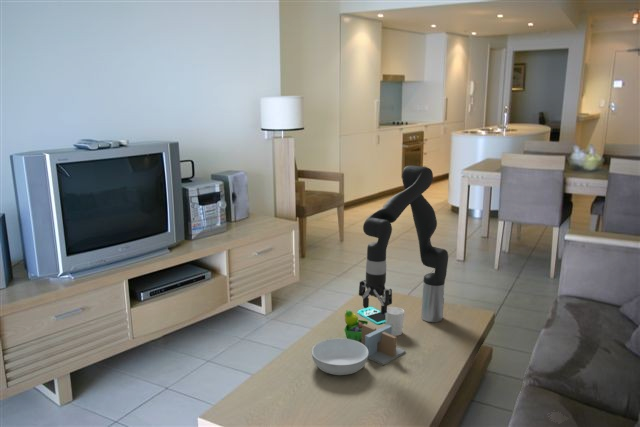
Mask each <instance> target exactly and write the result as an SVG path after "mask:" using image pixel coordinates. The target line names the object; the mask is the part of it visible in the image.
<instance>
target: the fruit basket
mask: <svg viewBox="0 0 640 427" xmlns="http://www.w3.org/2000/svg"><path fill="white" fill-rule="evenodd" d="M344 321H345V327H344V328H343V331H344V333H345V337H346V339H351V340H355V341H358V342H360V343H361V339H362V325H363V324H367V325H369V324H368V323H369V322H368V321H367V320H362V319H359V317H358V315H357V314H356V313H354V312H353V311H351V310H350V309H349V310H346V311H345V313H344Z"/></svg>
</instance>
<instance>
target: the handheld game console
mask: <svg viewBox="0 0 640 427" xmlns="http://www.w3.org/2000/svg"><path fill="white" fill-rule="evenodd" d="M357 314H358V315H359V316H361V317H363V318H365V319H366V320H368V321H370V322H372V323H374V324H375V325H377V326H378V325H383V324H384V323H385V324H386V321H385V317H386V314H384V315H382V314H381V310H379V309H376V307H373V306H368V307H367V308H361V309H360V310H358V311H357Z"/></svg>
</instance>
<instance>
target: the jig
mask: <svg viewBox="0 0 640 427" xmlns="http://www.w3.org/2000/svg"><path fill="white" fill-rule="evenodd" d="M376 330H377V328H376V327H374V326H372V325H369V324H363V325H362V338H361V340H360V343H362V344H363V345H365V335H367V334H369V333H371V332H374V331H376ZM397 339H398V338H397V336H393V335H391V334H388V333H386V332H383V333H382V337H381V341H380V342H378V343H377V352H376V353H374V354H372V355H370V356H368V359H369V360H371V361H374V362H376V363H378V364H379V365H382V366H384V365H385V364H387V363H390V362H391V361H393V360H396V358H398V357H400V356H401V355H403V354H406V350H404V349H402V348H400V347H397V341H398V340H397Z"/></svg>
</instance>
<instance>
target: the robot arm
mask: <svg viewBox="0 0 640 427" xmlns="http://www.w3.org/2000/svg"><path fill="white" fill-rule="evenodd" d="M433 178H434V175H433V170H432V169H431V168H430V167H427V166H419V165H406V166H405V167H404V168H403V170H402V174H401V180H402V185H403V188H404V190H403V191H399V192H398V193H396V194H395V195H393V196H391V197H390V198H388V200H387V201H386V202H385V203H384V205H383V206H382V207H381V208H380V209H378V210H377V211H375V212H374V213H372V214H370V215H369V216H368V217H366V219H365V221H364V223H363V227H362V230H363V232H364V235H366V236H368V237H372V238H376V239H377V241H374V242H370V243H368V245H367V251H366V263H365V279H363V280H361V281H359V284H358V285H359V286H358V287H359V288H358V296H359V297H361V298H362V306H363V309H365V308H368V307H370V305H369V304H370V303H369V302H370V298H369V297H370V296H371V297H374V298H377V301H379V302H380V305H381V306H380V311H381V314H382V315H384V314H386V313H387V308H388V306H390V305H392V304H393V289H391V288H389V289H388V288H386V286H385V285H386V282H387V281H386V279H387V248H388V245H389V242H390V238H391V236H392V232H393V227H392V224H393V223H394V222H396V221H397V220H398V219H399V217H400V215H402V213H403V212H404V211H405V209H407V207H408V206H410V209H411V212H412V217H413V222H414V226H415V230H416V235H417V240H418V246H419V254H420V255H419V256H420V261H421V263H422V265H423V266H425V267H428V268H431V269H434V272H429V273H426V274H424V276H423V284H422V286H423V287H422V300H421V302H422V303H421V313H420V315H421V316H420V317H421V320H424V321H425V322H428V323H439V322H441V321H442V320H443V317H444V306H445V297H444V294H445V283H446V282H445V281H446V278H447V272H448V270H447V269H448V263H449V253H448V251H447V250H446V249H445V248H439V247H436V246H433V245H432V242H431V238H432V236H433V234H434V233H435V232H436V229H437V226H438V222H437V221H438V220H437V216H436V211H435V208H434V207H433V206H432V205H431V204H430V202H429V201H428V200H427V199H426V198H425V197H424V195H423V193H425V191H427V190H428V189H429V188H430V187H431V185H432V183H433Z"/></svg>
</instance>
